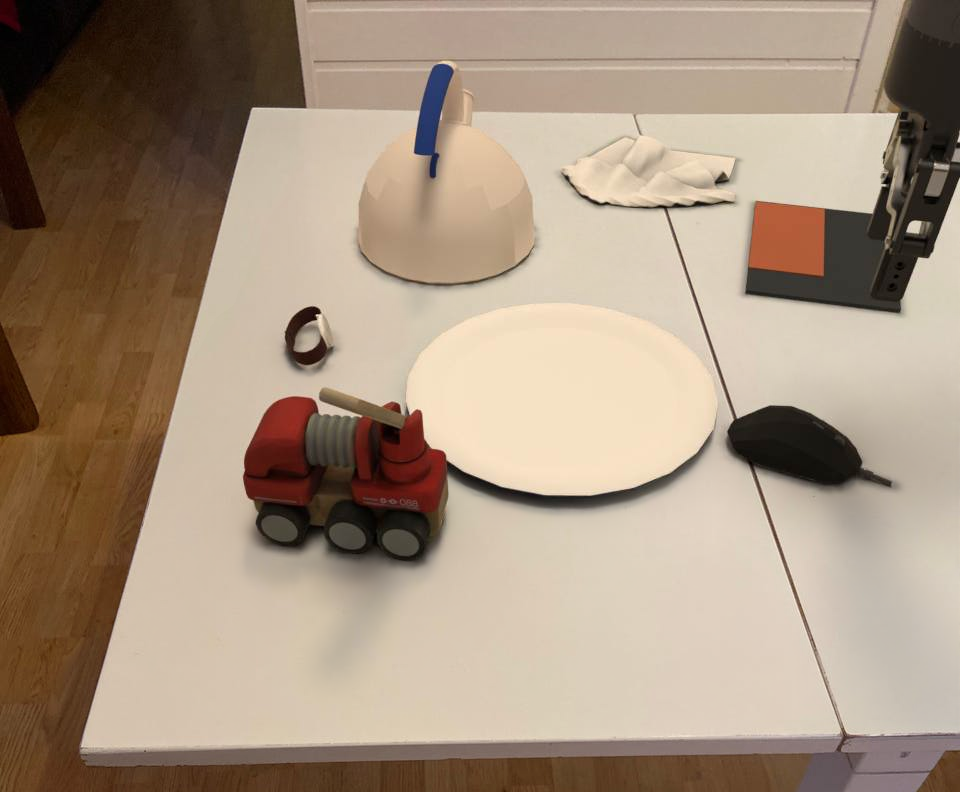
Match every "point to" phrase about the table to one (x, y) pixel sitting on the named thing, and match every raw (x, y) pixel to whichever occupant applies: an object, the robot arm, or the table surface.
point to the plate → (562, 399)
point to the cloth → (650, 175)
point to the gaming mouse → (797, 445)
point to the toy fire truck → (346, 475)
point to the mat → (814, 256)
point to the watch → (324, 328)
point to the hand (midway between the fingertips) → (882, 266)
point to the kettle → (445, 196)
